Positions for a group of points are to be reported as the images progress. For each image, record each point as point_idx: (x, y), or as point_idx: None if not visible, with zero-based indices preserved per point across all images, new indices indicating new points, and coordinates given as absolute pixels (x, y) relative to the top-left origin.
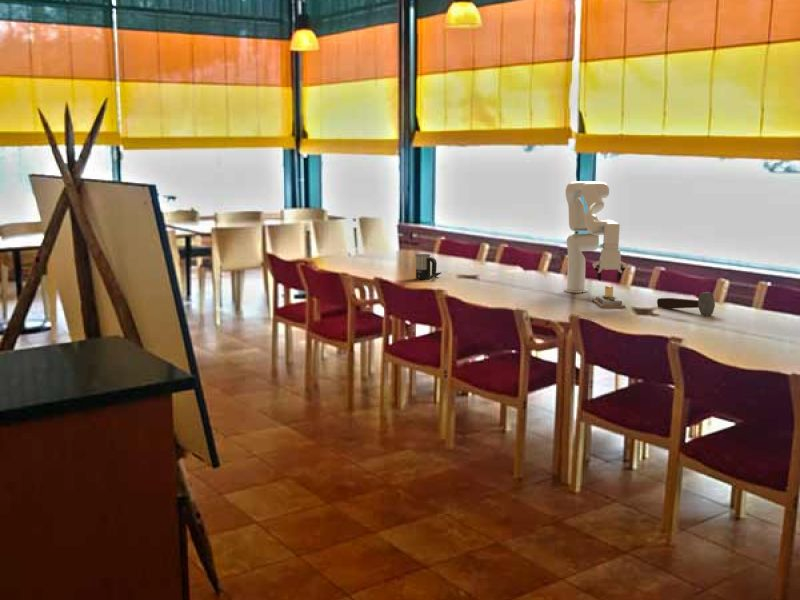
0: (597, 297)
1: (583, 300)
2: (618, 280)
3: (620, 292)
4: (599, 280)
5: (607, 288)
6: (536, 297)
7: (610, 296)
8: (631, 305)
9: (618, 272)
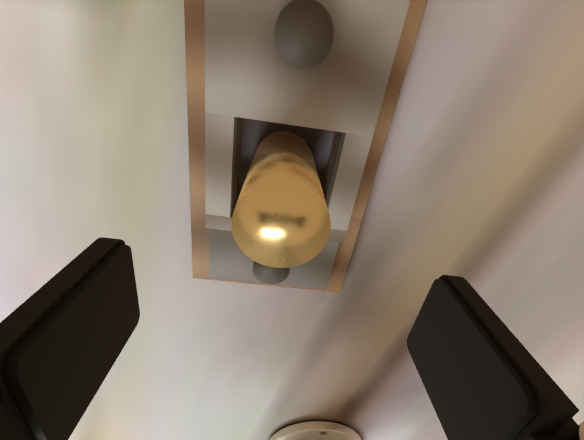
0: (328, 264)
1: (387, 289)
2: (126, 246)
3: (127, 415)
4: (458, 277)
5: (317, 189)
6: (563, 370)
7: (280, 148)
8: (111, 75)
9: (18, 428)
